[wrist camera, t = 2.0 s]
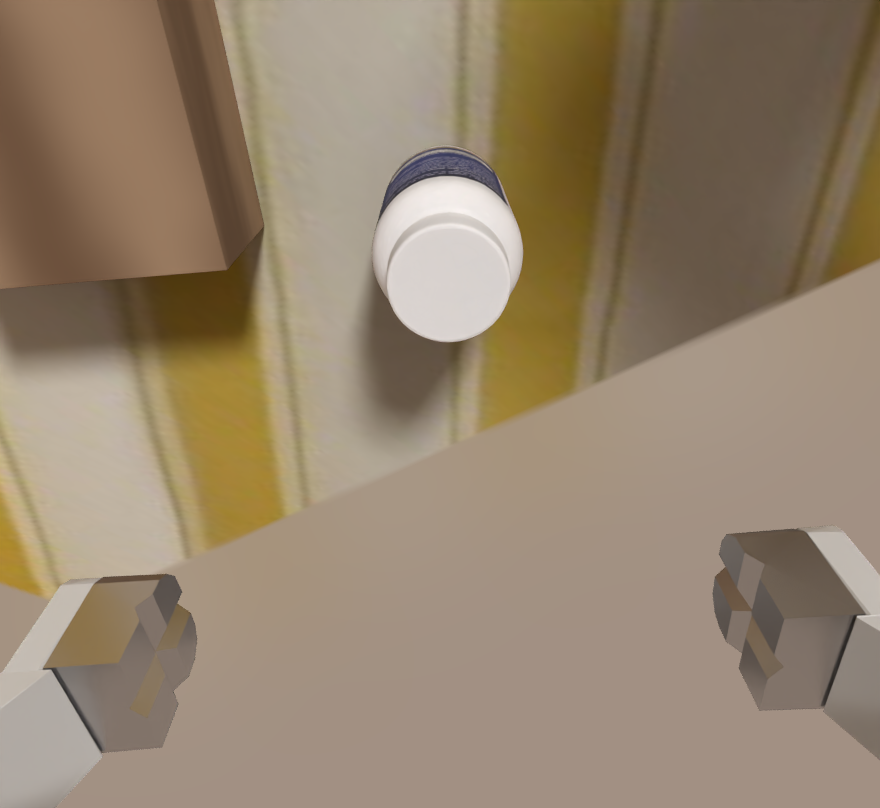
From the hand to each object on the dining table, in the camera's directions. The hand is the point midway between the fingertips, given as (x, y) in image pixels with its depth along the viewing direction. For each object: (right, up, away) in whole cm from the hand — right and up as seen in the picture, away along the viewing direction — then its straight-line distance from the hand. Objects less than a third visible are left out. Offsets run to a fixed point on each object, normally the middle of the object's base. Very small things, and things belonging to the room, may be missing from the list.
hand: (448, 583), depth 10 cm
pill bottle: (0, +12, +19) cm, 22 cm away
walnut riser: (-14, +15, +16) cm, 27 cm away
